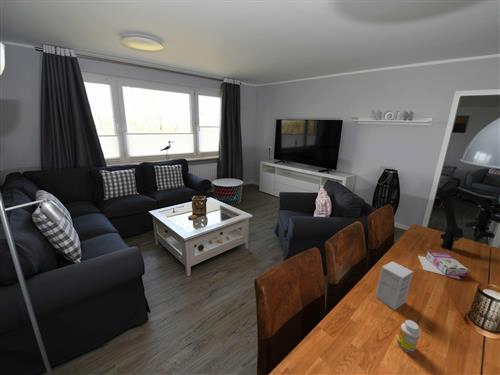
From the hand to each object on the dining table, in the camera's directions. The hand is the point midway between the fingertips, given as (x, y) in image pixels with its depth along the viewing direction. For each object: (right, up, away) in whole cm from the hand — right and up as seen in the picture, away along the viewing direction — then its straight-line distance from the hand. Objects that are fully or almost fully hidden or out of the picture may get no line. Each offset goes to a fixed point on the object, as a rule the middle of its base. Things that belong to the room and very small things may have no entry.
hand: (475, 241), depth 137 cm
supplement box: (-71, -20, -31) cm, 80 cm away
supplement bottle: (-79, -26, -53) cm, 99 cm away
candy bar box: (-22, -9, +2) cm, 24 cm away
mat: (-27, -14, -5) cm, 30 cm away
